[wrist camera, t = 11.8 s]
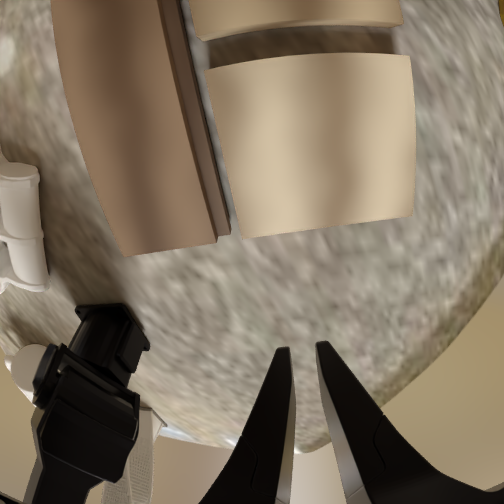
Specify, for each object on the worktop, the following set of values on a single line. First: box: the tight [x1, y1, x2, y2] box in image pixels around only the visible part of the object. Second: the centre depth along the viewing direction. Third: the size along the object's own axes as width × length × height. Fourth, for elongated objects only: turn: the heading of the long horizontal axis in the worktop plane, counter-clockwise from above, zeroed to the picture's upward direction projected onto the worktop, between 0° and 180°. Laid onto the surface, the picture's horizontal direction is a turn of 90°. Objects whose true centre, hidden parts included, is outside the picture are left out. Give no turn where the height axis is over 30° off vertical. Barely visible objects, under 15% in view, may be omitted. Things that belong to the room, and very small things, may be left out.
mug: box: [4, 344, 61, 407], centre depth 29 cm, size 12×10×8 cm
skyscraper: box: [101, 407, 167, 504], centre depth 27 cm, size 8×8×28 cm
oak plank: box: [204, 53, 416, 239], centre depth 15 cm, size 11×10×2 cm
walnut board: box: [51, 0, 231, 257], centre depth 13 cm, size 8×22×2 cm, turn 10°
